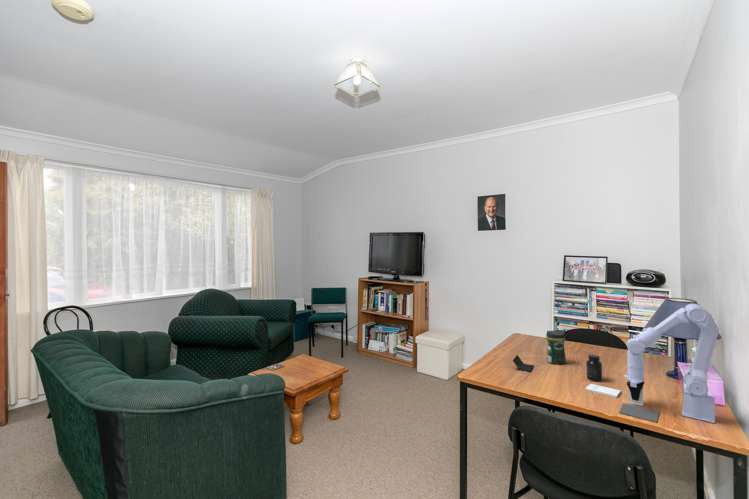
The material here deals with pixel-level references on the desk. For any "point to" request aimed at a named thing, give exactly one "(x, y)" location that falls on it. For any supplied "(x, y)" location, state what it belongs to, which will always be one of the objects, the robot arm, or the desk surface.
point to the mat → (639, 412)
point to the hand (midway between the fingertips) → (635, 398)
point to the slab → (639, 402)
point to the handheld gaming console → (522, 365)
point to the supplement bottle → (594, 368)
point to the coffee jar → (556, 347)
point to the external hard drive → (603, 390)
